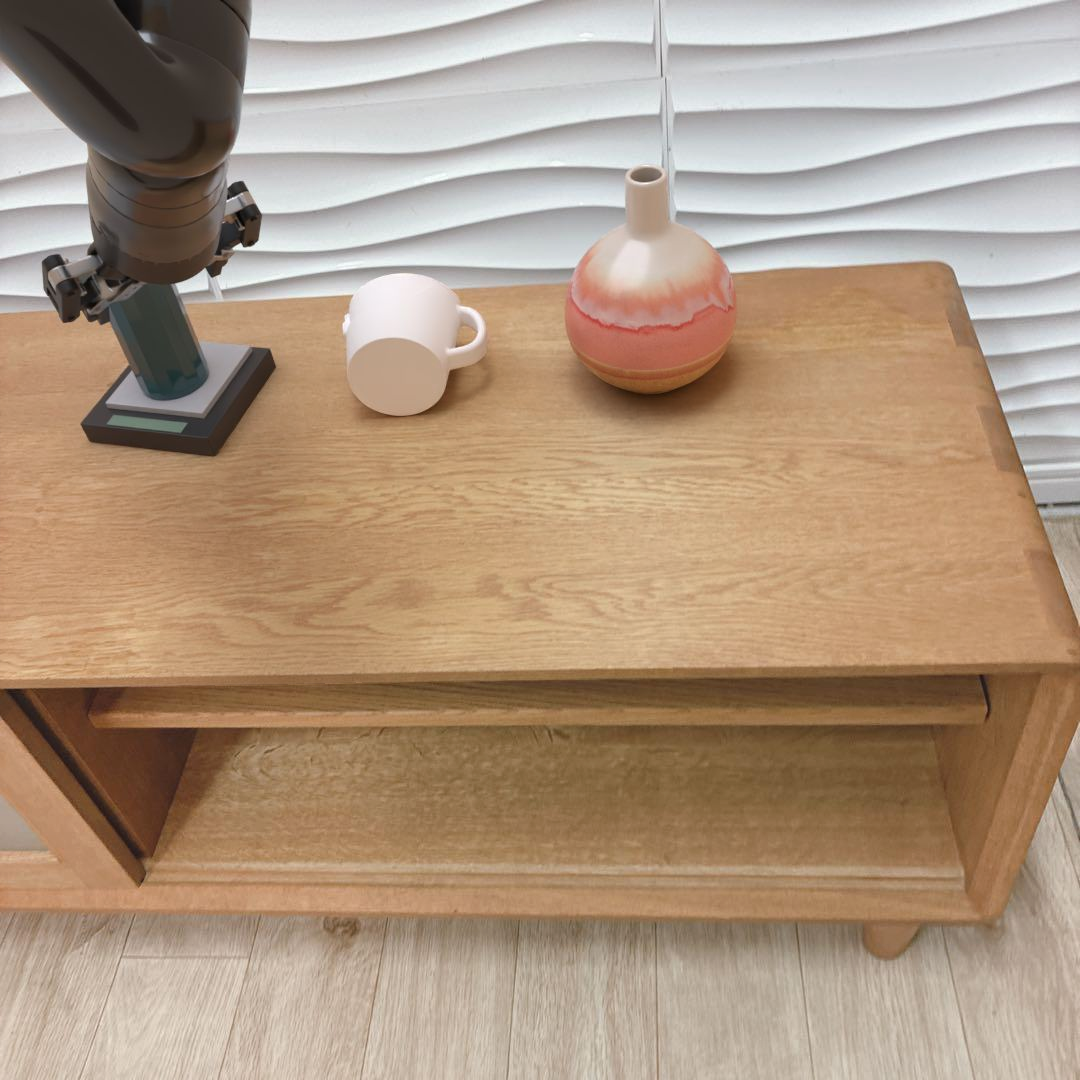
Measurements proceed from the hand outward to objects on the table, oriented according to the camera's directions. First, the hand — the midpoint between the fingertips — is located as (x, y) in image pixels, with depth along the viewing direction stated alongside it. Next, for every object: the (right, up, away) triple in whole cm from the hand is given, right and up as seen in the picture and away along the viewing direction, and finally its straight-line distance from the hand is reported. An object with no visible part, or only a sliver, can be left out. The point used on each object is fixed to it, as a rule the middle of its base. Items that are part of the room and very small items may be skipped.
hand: (153, 287), depth 77 cm
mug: (+18, -5, +15) cm, 24 cm away
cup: (-3, -5, +14) cm, 15 cm away
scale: (-3, -6, +16) cm, 17 cm away
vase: (+37, -4, +13) cm, 39 cm away
